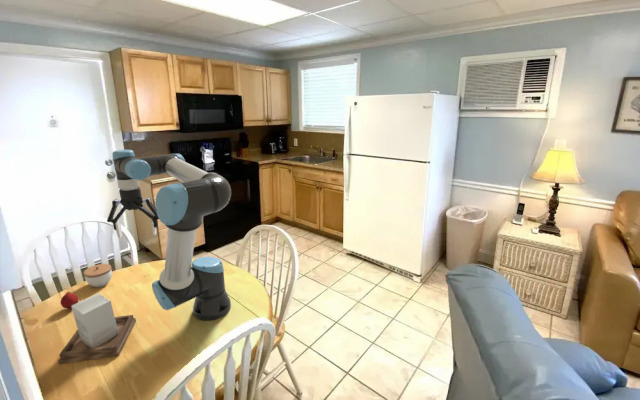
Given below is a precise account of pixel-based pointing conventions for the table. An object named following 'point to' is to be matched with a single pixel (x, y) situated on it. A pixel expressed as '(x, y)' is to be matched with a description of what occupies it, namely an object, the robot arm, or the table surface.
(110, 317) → the supplement box
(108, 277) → the lidded jar
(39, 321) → the table surface
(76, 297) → the onion
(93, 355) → the walnut stand
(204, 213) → the robot arm
